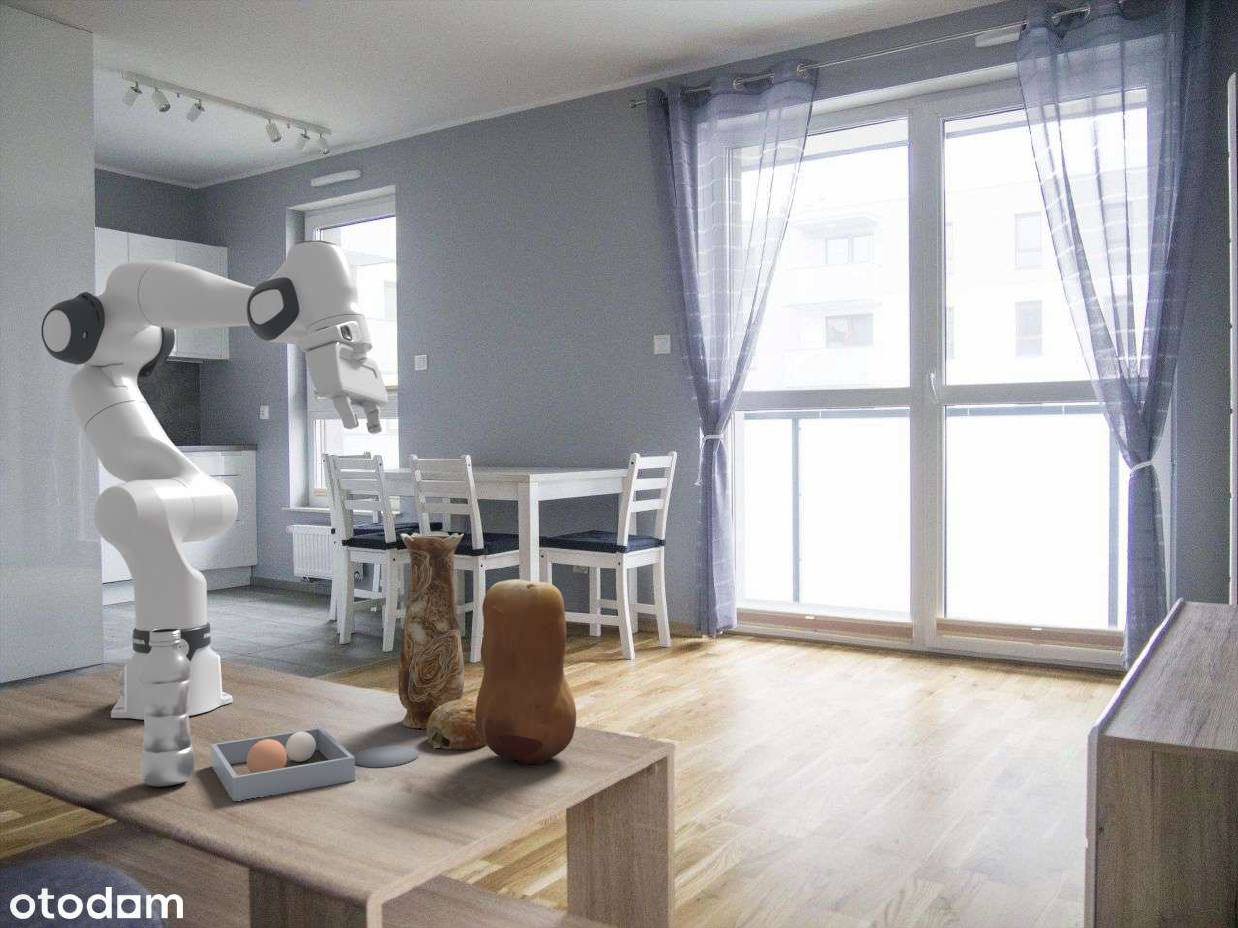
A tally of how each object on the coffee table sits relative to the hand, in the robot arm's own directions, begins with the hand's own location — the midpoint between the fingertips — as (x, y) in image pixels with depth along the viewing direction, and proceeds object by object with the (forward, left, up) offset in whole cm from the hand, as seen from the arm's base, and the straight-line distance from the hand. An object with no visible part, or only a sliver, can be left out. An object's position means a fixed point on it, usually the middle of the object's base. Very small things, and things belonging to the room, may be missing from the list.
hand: (364, 430), depth 149 cm
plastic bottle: (+7, -28, -46) cm, 55 cm away
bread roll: (+9, +11, -47) cm, 49 cm away
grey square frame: (+10, -15, -46) cm, 50 cm away
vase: (-3, +11, -46) cm, 48 cm away
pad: (+11, -1, -46) cm, 48 cm away
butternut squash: (+23, +15, -46) cm, 54 cm away
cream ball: (+6, -11, -46) cm, 48 cm away
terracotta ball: (+11, -17, -46) cm, 50 cm away
